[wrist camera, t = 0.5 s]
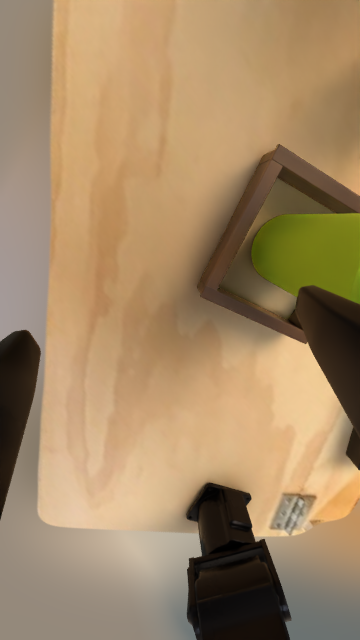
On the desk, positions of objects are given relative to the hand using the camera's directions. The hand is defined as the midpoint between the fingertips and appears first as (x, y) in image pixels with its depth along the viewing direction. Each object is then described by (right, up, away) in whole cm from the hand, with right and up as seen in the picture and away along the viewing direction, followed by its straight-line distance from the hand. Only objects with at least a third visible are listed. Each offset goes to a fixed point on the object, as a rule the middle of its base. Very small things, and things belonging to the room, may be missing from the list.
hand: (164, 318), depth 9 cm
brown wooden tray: (+9, +6, +15) cm, 19 cm away
